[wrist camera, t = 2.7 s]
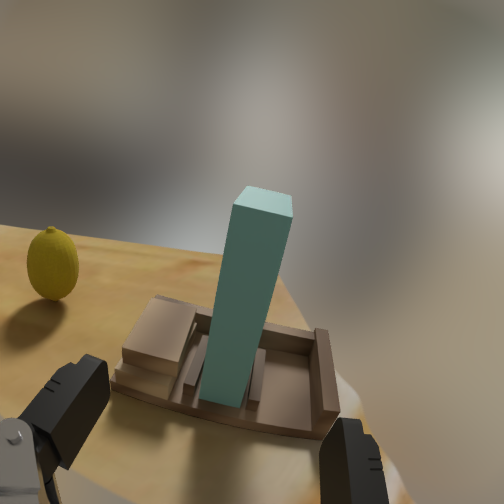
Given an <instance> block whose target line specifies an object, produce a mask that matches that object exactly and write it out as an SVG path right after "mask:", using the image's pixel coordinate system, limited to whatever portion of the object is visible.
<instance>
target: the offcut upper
mask: <svg viewBox="0 0 504 504" xmlns="http://www.w3.org/2000/svg"><path fill="white" fill-rule="evenodd" d="M196 311H197V308H195V307H190V306H186V305H182V304H177V303H173V302H169V301H164V300H160V299H156V298H151V299H150V301H149V303H148V304H147V306H146V308H145V309H144V311H143V313H142V314H141V316H140V317H139V319H138V321H137V322H136V324H135V326H134V327H133V329H132V331H131V333H130V334H129V336H128V338H127V339H126V341H125V343H124V344H123V346H122V359H123V363H125V364H128V365H132V366H135V367H139V368H143V369H146V370H150V371H154V372H157V373H161V374H165V375H169V376H173V377H177V375H178V372H179V369H180V366H181V363H182V360H183V357H184V354H185V351H186V348H187V344H188V341H189V338H190V335H191V332H192V329H193V326H194V324H195V318H196Z"/></svg>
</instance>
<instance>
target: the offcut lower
mask: <svg viewBox="0 0 504 504" xmlns="http://www.w3.org/2000/svg"><path fill="white" fill-rule="evenodd" d="M196 327H197V323H195V324H194V326H193V329H192V332H191V335H190V338H189V341H188V344H187V348H186V351H185V354H184V357H183V360H182V363H181V366H180V369H179V372H180V370H181V368H182V365H183V363H184V361H185V359H186V356H187V354H188V352H189V349H190V347H191V345H192V343H193V340H194V338H195V334H196ZM114 369H115V380H116V383H118V384H121V385H124V386H126V387H129V388H132V389H135V390H138V391H141V392H143V393H146V394H149V395H152V396H156V397H159V398H162V399H165V400H168V398H169V395H170V393H171V391H172V389H173V386H174V384H175V382H176V379H177V377H178V375H179V372H178V375H177V377H173V376H169V375H165V374H161V373H157V372H154V371H150V370H146V369H143V368H139V367H135V366H132V365H128V364H125V363H123V359H122V358H121V359H120V361H119V362H118V364H117V365H116V367H115V368H114Z"/></svg>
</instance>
